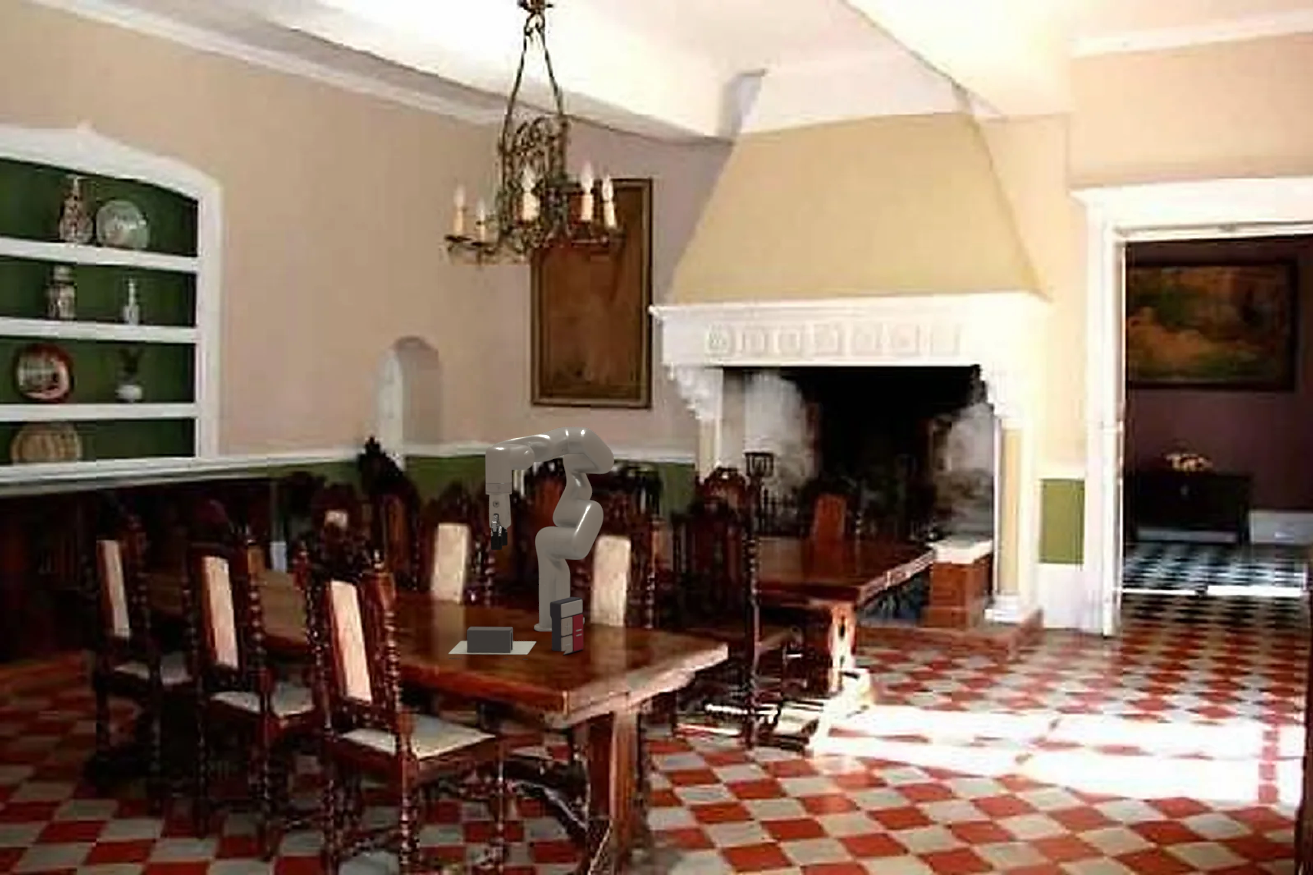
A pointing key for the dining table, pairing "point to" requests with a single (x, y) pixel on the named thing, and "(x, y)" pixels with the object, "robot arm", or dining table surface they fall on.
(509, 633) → the housing
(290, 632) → the dining table surface
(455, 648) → the header board
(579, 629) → the miniature cabinet
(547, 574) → the robot arm
